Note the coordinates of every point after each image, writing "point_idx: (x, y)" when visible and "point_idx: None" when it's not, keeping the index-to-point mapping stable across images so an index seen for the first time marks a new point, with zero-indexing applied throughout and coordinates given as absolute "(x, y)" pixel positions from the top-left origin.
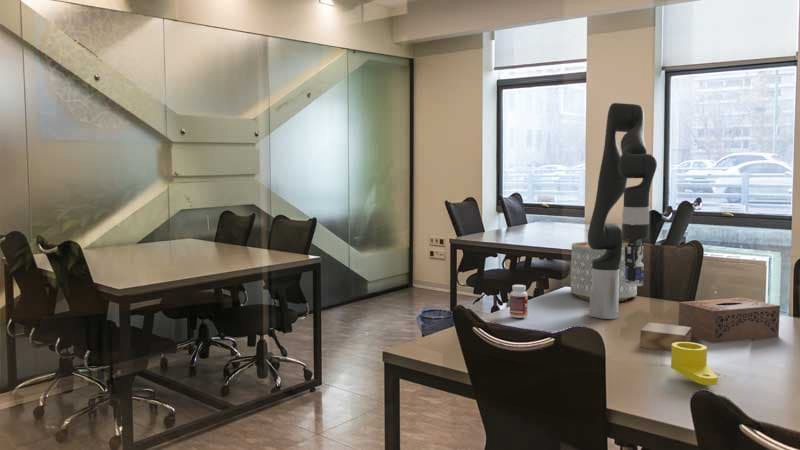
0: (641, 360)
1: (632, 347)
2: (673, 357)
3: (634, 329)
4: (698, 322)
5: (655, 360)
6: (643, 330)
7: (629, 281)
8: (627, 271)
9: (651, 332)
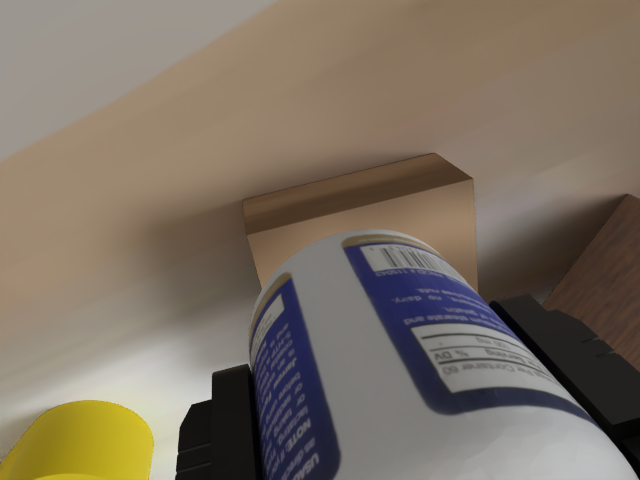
0: (22, 308)
1: (207, 177)
2: (17, 458)
3: (596, 2)
4: (599, 331)
5: (78, 341)
6: (252, 248)
7: (251, 361)
8: (269, 441)
9: (261, 282)
